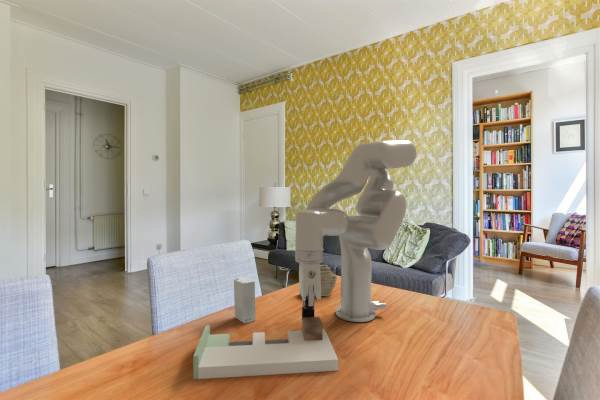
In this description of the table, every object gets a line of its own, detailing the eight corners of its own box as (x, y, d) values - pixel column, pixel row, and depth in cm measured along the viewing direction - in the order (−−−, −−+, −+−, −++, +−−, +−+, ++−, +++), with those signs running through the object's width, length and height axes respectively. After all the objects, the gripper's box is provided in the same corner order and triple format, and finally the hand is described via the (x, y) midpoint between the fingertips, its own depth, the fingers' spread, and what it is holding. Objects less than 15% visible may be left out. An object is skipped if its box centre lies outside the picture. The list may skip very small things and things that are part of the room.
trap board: (324, 338, 85) (324, 320, 85) (338, 370, 70) (338, 348, 70) (205, 344, 82) (205, 325, 81) (193, 379, 67) (193, 356, 67)
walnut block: (319, 331, 84) (319, 316, 84) (322, 339, 79) (322, 324, 79) (302, 332, 83) (302, 317, 83) (304, 340, 79) (304, 324, 79)
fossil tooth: (298, 296, 122) (335, 290, 126) (302, 301, 116) (341, 294, 120) (295, 266, 122) (332, 261, 125) (299, 270, 116) (338, 264, 119)
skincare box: (256, 320, 97) (256, 281, 96) (243, 324, 94) (243, 283, 93) (246, 314, 101) (246, 276, 101) (233, 317, 99) (233, 278, 98)
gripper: (328, 261, 80) (326, 333, 80) (318, 250, 95) (317, 311, 95) (298, 261, 79) (297, 334, 80) (292, 250, 94) (292, 311, 94)
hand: (308, 321), depth 87 cm, fingers closed
